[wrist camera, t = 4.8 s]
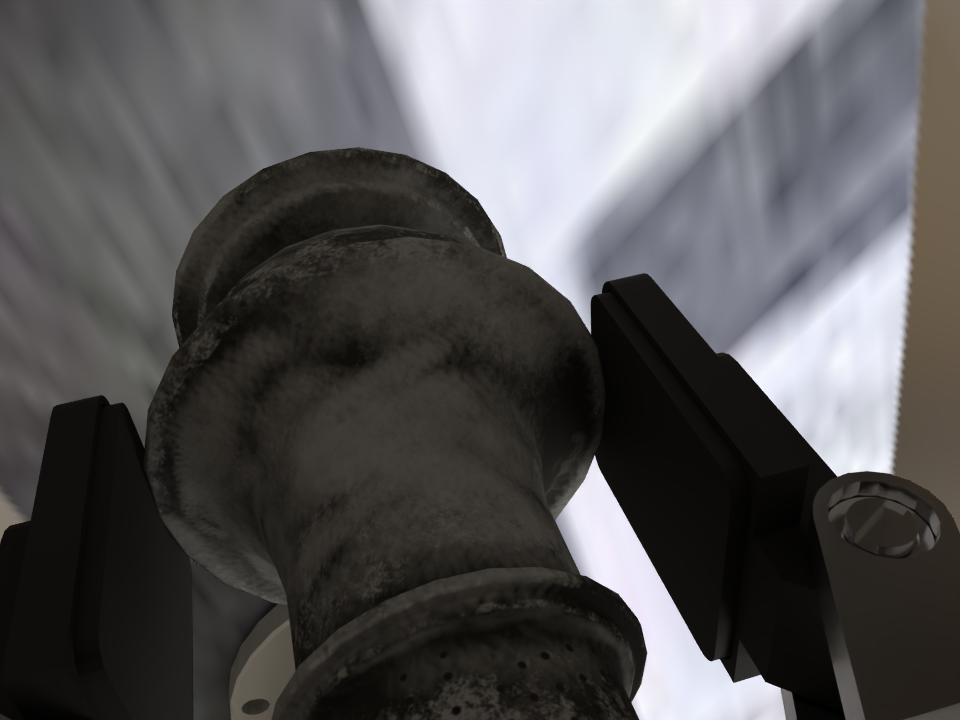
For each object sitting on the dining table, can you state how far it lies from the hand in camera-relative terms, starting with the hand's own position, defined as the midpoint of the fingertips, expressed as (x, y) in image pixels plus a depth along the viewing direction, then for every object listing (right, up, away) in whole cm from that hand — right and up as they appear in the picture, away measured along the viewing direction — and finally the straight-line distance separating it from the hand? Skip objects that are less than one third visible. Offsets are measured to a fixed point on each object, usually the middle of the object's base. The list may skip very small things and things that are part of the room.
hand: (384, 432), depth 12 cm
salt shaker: (-1, +2, +3) cm, 3 cm away
